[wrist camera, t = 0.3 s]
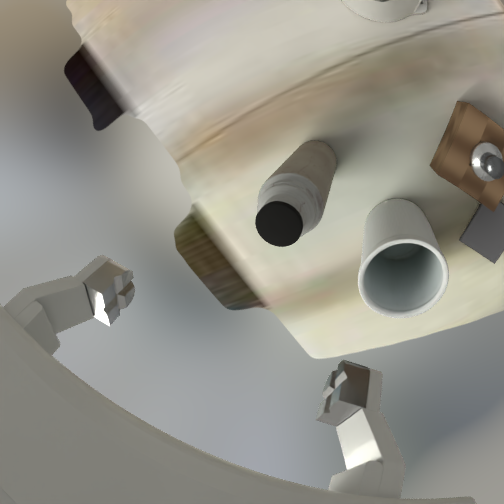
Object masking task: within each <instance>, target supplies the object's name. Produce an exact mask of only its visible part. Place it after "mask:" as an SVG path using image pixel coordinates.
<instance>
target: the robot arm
mask: <svg viewBox="0 0 504 504" xmlns="http://www.w3.org/2000/svg"><path fill="white" fill-rule="evenodd" d="M342 2H343V3H344V4H345V5H346V6H347V7H348V8H349V9H350V10H352V11H353V12H355V13H356V14H358V15H360V16H362V17H364V18H367V19H370V20H373V21H378V22H394V21H398V20H401V19H403V18H405V17H407V16H409V15H419V14H424V13H426V11H427V0H342ZM421 2H422V4H420V3H421ZM132 279H133V272H132V271H131V270H129V269H127V268H126V267H124V266H122V265H120V264H118V263H117V262H115V261H113V260H111V259H109V258H108V257H106V256H104V255H100V256H98V257H97V258H95V259H94V260H93V261H92V262H91V263H89V264H88V265H87V266H86V267H84V268H83V269H82V270H81V271H80V272H79V273H78V274H77V275H75V276H74V277H72V276H68V277H64V278H60V279H57V280H53V281H49V282H45V283H42V284H38V285H34V286H30V287H27V288H24V289H23V290H21V291H20V292H19V293H18V294H17V295H16V296H15V297H14V298H13V299H12V300H10V301H9V302H8V303H7V304H6V305H5V306H4V307H2V306H1V305H0V504H476V502H475V500H474V499H473V498H472V497H456V498H455V497H454V498H439V499H401V498H400V497H401V492H402V486H403V480H404V473H405V462H404V460H403V458H402V455H401V453H400V451H399V448H398V446H397V444H396V441H395V439H394V437H393V435H392V432H391V430H390V428H389V426H388V424H387V421H386V419H385V417H384V415H383V413H381V412H380V401H381V389H382V372H380V371H377V370H373V369H370V368H368V367H365V366H362V365H359V364H355V363H352V362H349V361H346V360H342V361H341V362H340V363H339V364H338V368H337V370H336V371H333V372H332V373H331V374H330V375H329V377H328V379H327V381H326V383H325V386H324V389H323V393H322V394H323V397H324V400H323V401H322V402H321V403H320V405H319V409H318V413H317V417H316V420H317V421H320V422H324V423H327V424H330V425H333V426H337V427H336V429H337V433H338V436H339V440H340V444H341V447H342V451H343V455H344V458H345V463H346V466H347V470H346V471H343V472H340V473H338V474H335V475H334V476H332V479H331V482H330V486H329V489H328V490H324V489H320V488H315V487H310V486H306V485H302V484H298V483H294V482H290V481H286V480H282V479H279V478H275V477H272V476H268V475H265V474H262V473H259V472H256V471H253V470H250V469H247V468H244V467H242V466H239V465H236V464H233V463H230V462H228V461H226V460H223V459H221V458H218V457H216V456H213V455H211V454H209V453H206V452H204V451H202V450H199V449H197V448H195V447H193V446H191V445H188V444H186V443H184V442H182V441H180V440H178V439H176V438H174V437H172V436H170V435H168V434H167V433H165V432H163V431H161V430H159V429H157V428H155V427H154V426H152V425H150V424H148V423H146V422H145V421H143V420H141V419H140V418H138V417H136V416H135V415H133V414H131V413H130V412H128V411H126V410H125V409H123V408H122V407H120V406H119V405H117V404H115V403H114V402H112V401H111V400H109V399H108V398H106V397H105V396H104V395H102V394H101V393H99V392H98V391H96V390H95V389H94V388H92V387H91V386H90V385H88V384H87V383H85V382H84V381H83V380H81V379H80V378H79V377H78V376H76V375H75V374H74V373H72V372H71V371H70V370H69V369H67V368H66V367H65V366H64V365H63V364H61V363H60V362H59V361H57V359H55V358H54V357H53V356H52V355H53V353H54V352H55V351H56V350H57V349H58V348H59V347H60V341H59V339H58V338H57V336H56V334H57V333H59V332H61V331H64V330H66V329H68V328H71V327H73V326H75V325H78V324H80V323H82V322H85V321H87V320H90V319H92V318H94V317H96V318H97V319H99V320H101V321H102V322H104V323H106V324H107V325H109V326H110V325H111V324H112V323H113V322H114V321H115V320H116V318H117V317H118V316H119V315H120V309H124V308H126V307H127V306H128V305H129V304H130V303H131V301H132V299H133V297H134V293H135V287H134V285H133V283H132V281H131V280H132Z"/></svg>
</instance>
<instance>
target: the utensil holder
mask: <svg viewBox="0 0 504 504" xmlns="http://www.w3.org/2000/svg"><path fill="white" fill-rule="evenodd" d="M448 279H449V270H448V265H447V262H446V259H445V257H444V255H443V253H442V252H441V250H440V248H439V245H438V243H437V241H436V238H435V236H434V233H433V231H432V228H431V226H430V224H429V222H428V220H427V218H426V216H425V215H424V213H423V211H422V210H421V209H420V208H419V207H418V206H417V205H416V204H414V203H412V202H410V201H408V200H404V199H390V200H387V201H384V202H382V203H380V204H378V205H377V206H376V207H374V208H373V209H372V211H371V212H370V213H369V215H368V217H367V219H366V222H365V226H364V235H363V246H362V258H361V265H360V269H359V273H358V288H359V292H360V294H361V297H362V299H363V300H364V302H365V303H366V304H367V306H368V307H370V308H371V309H372V310H373V311H375V312H377V313H379V314H381V315H383V316H387V317H391V318H409V317H413V316H417V315H419V314H422V313H424V312H426V311H427V310H429V309H430V308H432V307H433V306H434V305H435V304H436V303H437V302H438V301H439V300H440V299H441V297H442V296H443V294H444V292H445V290H446V288H447V284H448Z"/></svg>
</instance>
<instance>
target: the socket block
mask: <svg viewBox="0 0 504 504" xmlns="http://www.w3.org/2000/svg"><path fill="white" fill-rule="evenodd" d="M482 141H486V142H489V143H491V144H493V145H495V146H496V147H497V148H498V149H499V151H500V152H501V154H502V158H503V162H504V129H502V128H501V127H500V126H499V125H498V124H496V123H495V122H494V121H493V120H491V119H490V118H489V117H487V116H486V115H485V114H483V113H482V112H481V111H479V110H478V109H477V108H475V107H474V106H472V105H471V104H469V103H466V102H459V101H457V103H456V106H455V108H454V111H453V113H452V116H451V118H450V121H449V123H448V126H447V128H446V130H445V133H444V135H443V137H442V140H441V142H440V144H439V146H438V149H437V151H436V153H435V155H434V157H433V159H432V161H431V164H430V166H431V168H432V169H433V170H434V171H435V172H436V173H437V174H438V175H439V176H441V177H442V178H444V179H446V180H447V181H449V182H450V183H452V184H454V185H455V186H457V187H458V188H460V189H461V190H463V191H464V192H466V193H467V194H469V195H470V196H472V197H473V198H475V199H476V200H477V201H479V202H480V203H482V204H483V205H484V206H486V207H487V208H488V209H490V210H491V211H492V212H494V211H495V209H496V208H497V206H498V204H499V202H500V200H501V198H502V197H503V195H504V175H503V176H502V177H501V178H500V179H495V180H493V181H484V180H482V179H480V178H479V177H478V176H477V175H476V174H475V173H474V172H473V170H472V169H471V166H470V165H469V164H470V153H471V150H472V148H473V147H474V146H475V145H476V144H477V143H479V142H482Z"/></svg>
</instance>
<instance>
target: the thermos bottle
mask: <svg viewBox="0 0 504 504" xmlns="http://www.w3.org/2000/svg"><path fill="white" fill-rule="evenodd" d="M336 164H337V160H336V156H335V153H334V151H333V150H332V149H331V147H329V146H328V145H327V144H325V143H323V142H320V141H308V142H306V143H304V144H302V145H301V146H300V147H299V148H298V149H297V150H296V151H295V152H294V153H293V154H292V155H291V156H290V157H289V158H288V159H287V160H286V161H285V162H284V163H283V164H282V165H281V166H280V167H279V168H278V169H277V170H276V171H275V172H274V173H273V174H272V175H271V176H270V177H269V178H268V179H267V180H266V182H265V183H264V184H263V185H262V187H261V189H260V191H259V195H258V206H257V212H258V214H257V216H256V222H255V224H256V229H257V231H258V233H259V235H260V236H261V237H262V238H263V239H264V240H265V241H266V242H268V243H270V244H272V245H274V246H279V247H284V246H289V245H292V244H293V243H295V242H296V241H297V240H298V239H299V237H301V236H303V235H304V234H306V233H307V232H309V231H311V230H312V229H314V228H315V227H316V226H317V225H318V223H319V222H320V220H321V218H322V215H323V212H324V209H325V205H326V202H327V198H328V195H329V191H330V188H331V184H332V180H333V177H334V173H335V169H336Z"/></svg>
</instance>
